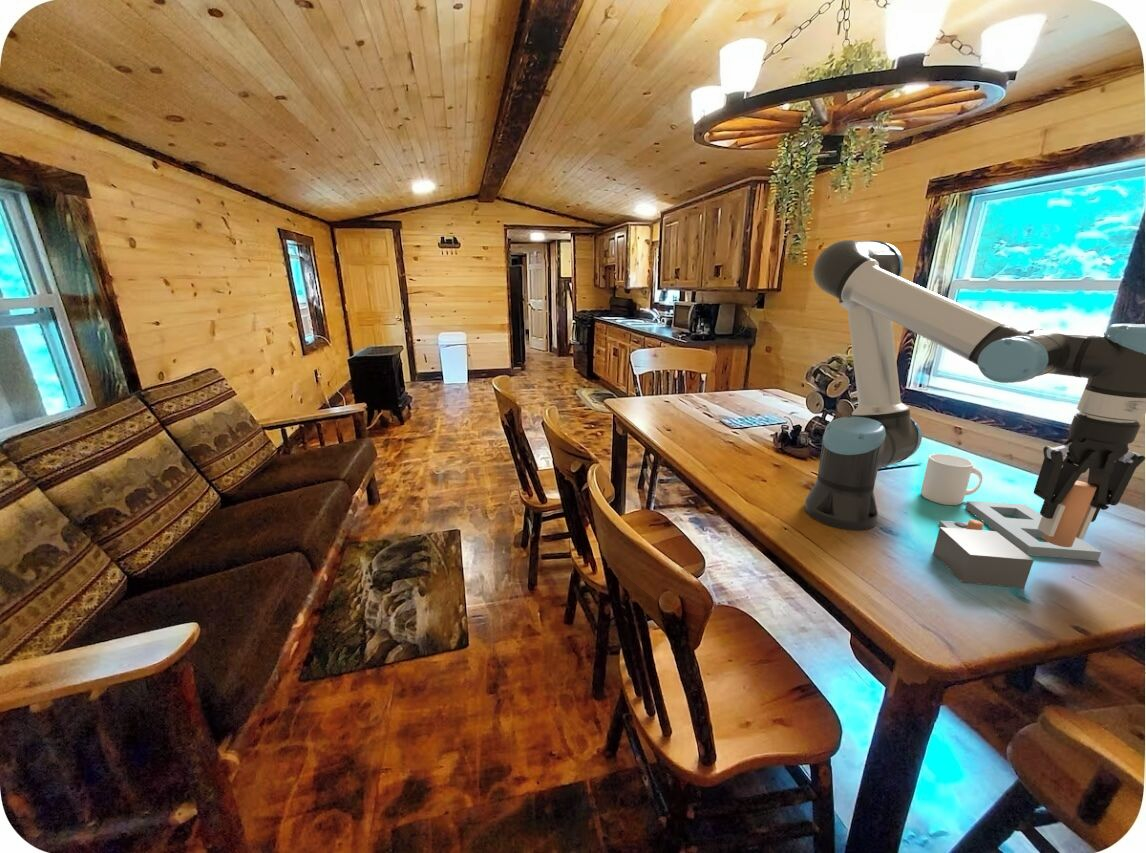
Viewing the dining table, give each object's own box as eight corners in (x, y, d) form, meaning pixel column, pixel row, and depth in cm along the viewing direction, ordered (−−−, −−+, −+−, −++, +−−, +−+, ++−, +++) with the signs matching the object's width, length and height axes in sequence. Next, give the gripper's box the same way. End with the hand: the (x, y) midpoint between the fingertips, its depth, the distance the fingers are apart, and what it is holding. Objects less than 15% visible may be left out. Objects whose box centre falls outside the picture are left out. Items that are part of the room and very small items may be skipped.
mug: (986, 509, 108) (998, 469, 105) (929, 504, 111) (939, 465, 108) (966, 493, 116) (977, 455, 113) (914, 489, 119) (922, 452, 116)
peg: (1052, 545, 83) (1076, 488, 79) (1036, 534, 86) (1058, 478, 82) (1078, 548, 82) (1103, 490, 78) (1060, 536, 86) (1083, 480, 82)
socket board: (1026, 554, 90) (1029, 546, 90) (965, 508, 109) (967, 501, 108) (1097, 560, 88) (1101, 551, 87) (1022, 512, 106) (1025, 504, 106)
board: (957, 540, 96) (961, 524, 94) (938, 524, 102) (942, 508, 101) (994, 543, 94) (999, 527, 93) (973, 526, 101) (978, 511, 99)
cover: (962, 582, 83) (970, 554, 81) (933, 552, 92) (939, 527, 90) (1024, 588, 81) (1033, 560, 79) (988, 557, 90) (996, 531, 88)
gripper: (1067, 420, 74) (1021, 540, 82) (1193, 426, 71) (1134, 550, 78) (1032, 407, 81) (994, 519, 89) (1146, 412, 78) (1096, 527, 85)
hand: (1059, 533), depth 83 cm, fingers closed on peg, 4 cm apart
